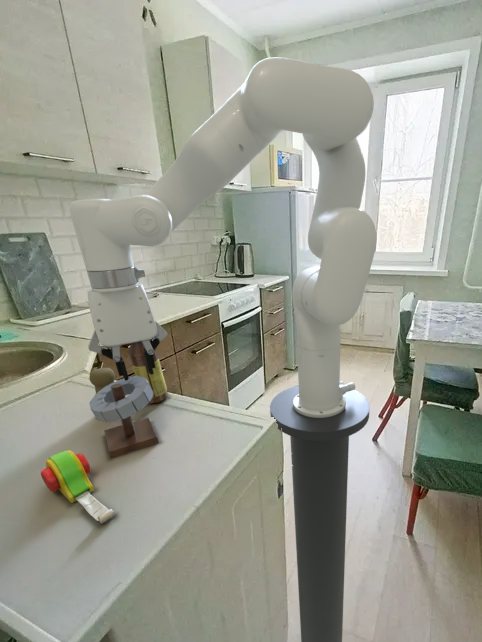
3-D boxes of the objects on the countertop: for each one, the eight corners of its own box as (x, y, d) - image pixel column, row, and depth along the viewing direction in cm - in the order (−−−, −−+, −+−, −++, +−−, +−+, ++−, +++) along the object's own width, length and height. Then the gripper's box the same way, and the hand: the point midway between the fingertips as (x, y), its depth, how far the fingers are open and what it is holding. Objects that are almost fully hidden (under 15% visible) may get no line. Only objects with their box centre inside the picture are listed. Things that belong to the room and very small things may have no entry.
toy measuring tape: (76, 463, 67) (65, 434, 64) (128, 509, 55) (118, 477, 52) (39, 482, 62) (25, 451, 60) (87, 536, 51) (73, 502, 48)
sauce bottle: (168, 391, 93) (151, 317, 84) (169, 401, 87) (151, 324, 79) (142, 396, 91) (122, 321, 82) (141, 407, 86) (120, 328, 77)
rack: (150, 423, 79) (136, 372, 73) (158, 442, 72) (144, 387, 66) (106, 436, 75) (88, 383, 69) (110, 458, 68) (92, 401, 62)
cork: (107, 421, 80) (93, 377, 75) (94, 414, 84) (80, 371, 79) (131, 410, 85) (120, 368, 80) (118, 403, 88) (106, 362, 83)
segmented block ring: (146, 379, 76) (141, 370, 75) (158, 402, 68) (153, 391, 66) (93, 403, 72) (87, 393, 71) (99, 430, 64) (92, 419, 62)
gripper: (158, 271, 68) (176, 359, 76) (58, 283, 60) (90, 379, 68) (167, 275, 62) (185, 371, 70) (58, 289, 55) (92, 394, 63)
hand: (138, 374), depth 69 cm, fingers open, 4 cm apart
